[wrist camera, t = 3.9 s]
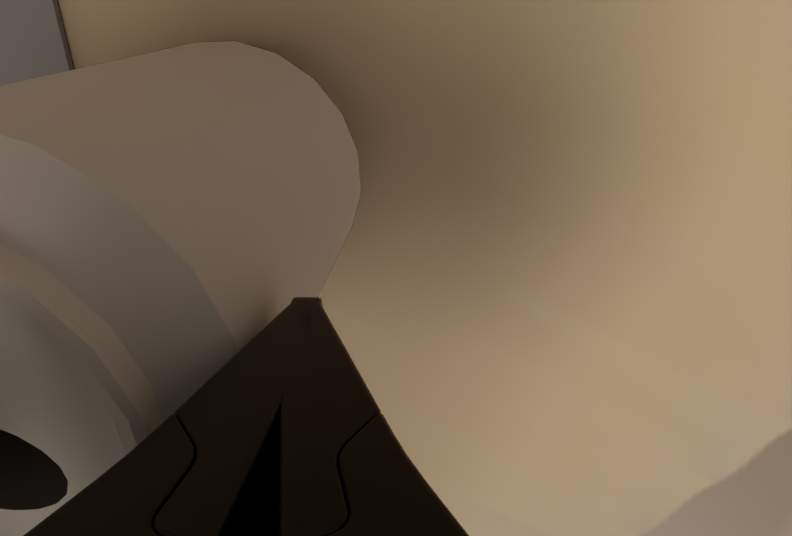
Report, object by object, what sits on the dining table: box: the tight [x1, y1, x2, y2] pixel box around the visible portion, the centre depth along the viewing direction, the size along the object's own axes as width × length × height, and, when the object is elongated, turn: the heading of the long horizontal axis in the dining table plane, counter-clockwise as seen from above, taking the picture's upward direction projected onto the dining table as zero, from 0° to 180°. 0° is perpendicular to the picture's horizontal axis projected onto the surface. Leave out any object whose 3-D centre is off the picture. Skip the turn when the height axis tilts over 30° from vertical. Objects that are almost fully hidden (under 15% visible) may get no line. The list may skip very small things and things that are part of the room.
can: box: [0, 41, 361, 536], centre depth 12 cm, size 8×8×12 cm
